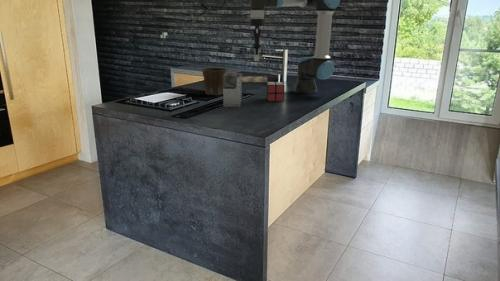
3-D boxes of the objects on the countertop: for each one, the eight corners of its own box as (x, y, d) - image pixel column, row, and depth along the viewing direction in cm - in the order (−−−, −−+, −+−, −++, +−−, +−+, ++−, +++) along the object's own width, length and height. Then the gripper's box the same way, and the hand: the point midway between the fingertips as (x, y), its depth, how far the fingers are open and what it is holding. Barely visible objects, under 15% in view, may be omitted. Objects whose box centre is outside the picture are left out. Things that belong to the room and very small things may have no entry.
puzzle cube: (283, 101, 235) (284, 84, 232) (267, 101, 235) (267, 84, 232) (282, 98, 245) (283, 82, 242) (266, 98, 245) (266, 82, 242)
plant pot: (216, 90, 267) (216, 66, 262) (232, 94, 256) (232, 69, 251) (197, 93, 256) (196, 68, 251) (213, 97, 245) (212, 71, 240)
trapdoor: (266, 81, 234) (266, 72, 232) (267, 86, 219) (267, 76, 217) (225, 81, 234) (225, 72, 232) (223, 86, 219) (223, 76, 217)
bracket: (241, 99, 239) (241, 73, 234) (240, 106, 221) (240, 78, 216) (226, 99, 239) (225, 73, 234) (223, 106, 221) (222, 78, 216)
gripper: (250, 18, 226) (250, 57, 233) (250, 18, 205) (249, 61, 211) (263, 18, 226) (262, 57, 233) (264, 18, 205) (263, 62, 211)
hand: (256, 59), depth 222 cm, fingers open, 10 cm apart
